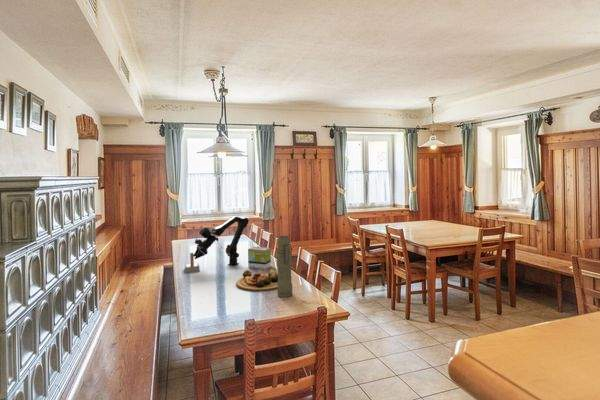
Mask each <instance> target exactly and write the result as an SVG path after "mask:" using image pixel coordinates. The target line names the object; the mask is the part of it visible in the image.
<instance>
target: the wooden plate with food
mask: <svg viewBox="0 0 600 400" xmlns="http://www.w3.org/2000/svg"><path fill="white" fill-rule="evenodd" d="M277 284H278V272H277V271H276V270H274V269H273V268H272V269H270V270H269V271H268V273H267V274H266V273H262V272H260V271H259V272H254V273H253V274H252V271H251V270H249V269H245V270H244V271H243V273H242V277H241V278H239V279H238V280H237V281H236V283H235V285H236V287H237V289H240V290H242V291H247V292H267V291H268V292H269V291H274V290H277Z"/></svg>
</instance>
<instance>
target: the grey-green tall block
mask: <svg viewBox="0 0 600 400" xmlns="http://www.w3.org/2000/svg"><path fill="white" fill-rule="evenodd" d="M276 244H277V255H276V267H277V275H278V284H277V289H276V291H277V297H278V298H282V299H285V298H286V299H288V298H291V297H293V289H294V288H293V282H292V267H293V257H292V254H291V249H292V247H291V238H290V236H288V235H279V236H278V238H277V243H276Z"/></svg>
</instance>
